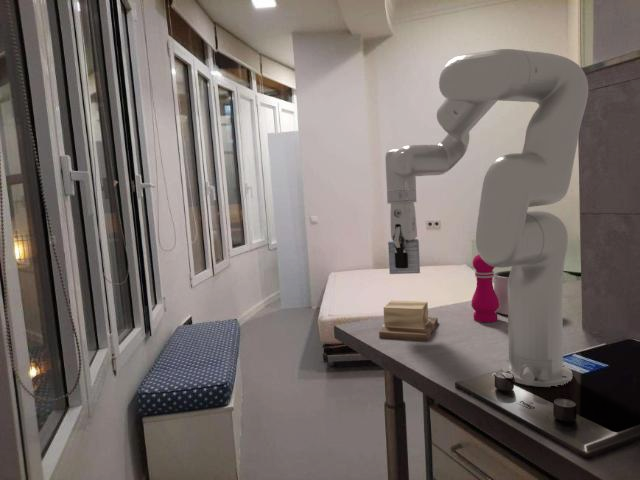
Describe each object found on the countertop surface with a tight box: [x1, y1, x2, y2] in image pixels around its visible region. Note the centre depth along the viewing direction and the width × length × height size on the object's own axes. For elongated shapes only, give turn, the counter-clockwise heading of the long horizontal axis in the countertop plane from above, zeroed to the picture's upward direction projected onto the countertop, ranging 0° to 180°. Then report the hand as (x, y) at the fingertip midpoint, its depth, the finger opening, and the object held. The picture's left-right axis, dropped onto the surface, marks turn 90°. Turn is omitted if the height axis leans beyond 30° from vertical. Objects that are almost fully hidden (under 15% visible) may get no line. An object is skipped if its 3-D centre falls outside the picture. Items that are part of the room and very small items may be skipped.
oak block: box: [383, 300, 429, 328], centre depth 127 cm, size 8×10×5 cm
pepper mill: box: [471, 254, 499, 323], centre depth 130 cm, size 7×7×20 cm
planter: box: [493, 270, 511, 317], centre depth 137 cm, size 13×13×11 cm
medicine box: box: [387, 238, 421, 275], centre depth 125 cm, size 8×4×9 cm, turn 79°
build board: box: [378, 316, 439, 342], centre depth 126 cm, size 16×12×2 cm
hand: (404, 265), depth 125 cm, fingers closed on medicine box, 5 cm apart
